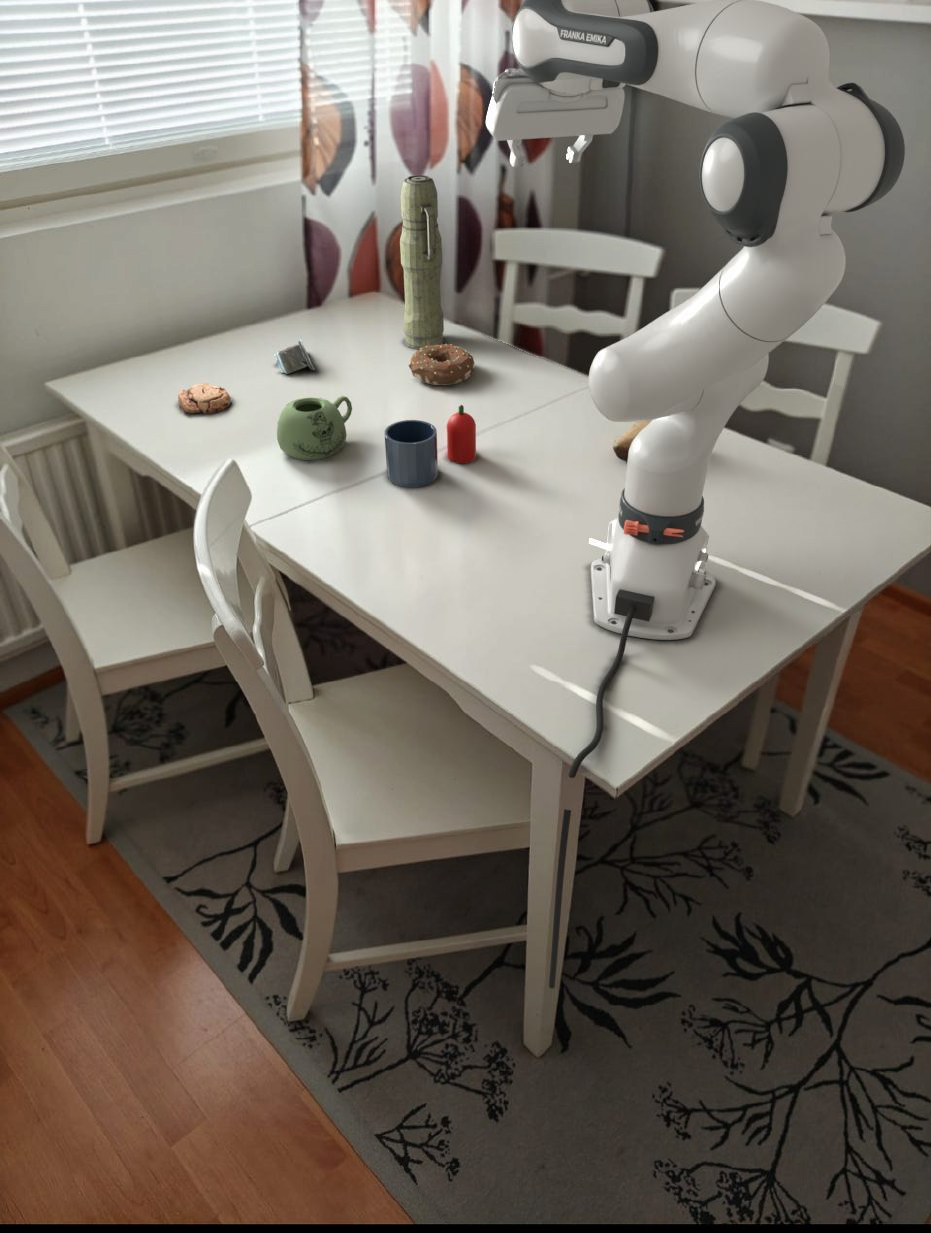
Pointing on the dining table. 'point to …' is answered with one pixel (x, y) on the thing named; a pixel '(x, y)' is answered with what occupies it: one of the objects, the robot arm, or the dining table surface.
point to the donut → (442, 364)
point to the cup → (411, 453)
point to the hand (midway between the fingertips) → (544, 162)
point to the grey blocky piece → (293, 358)
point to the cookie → (204, 399)
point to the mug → (312, 428)
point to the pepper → (461, 437)
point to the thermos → (421, 263)
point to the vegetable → (628, 440)
